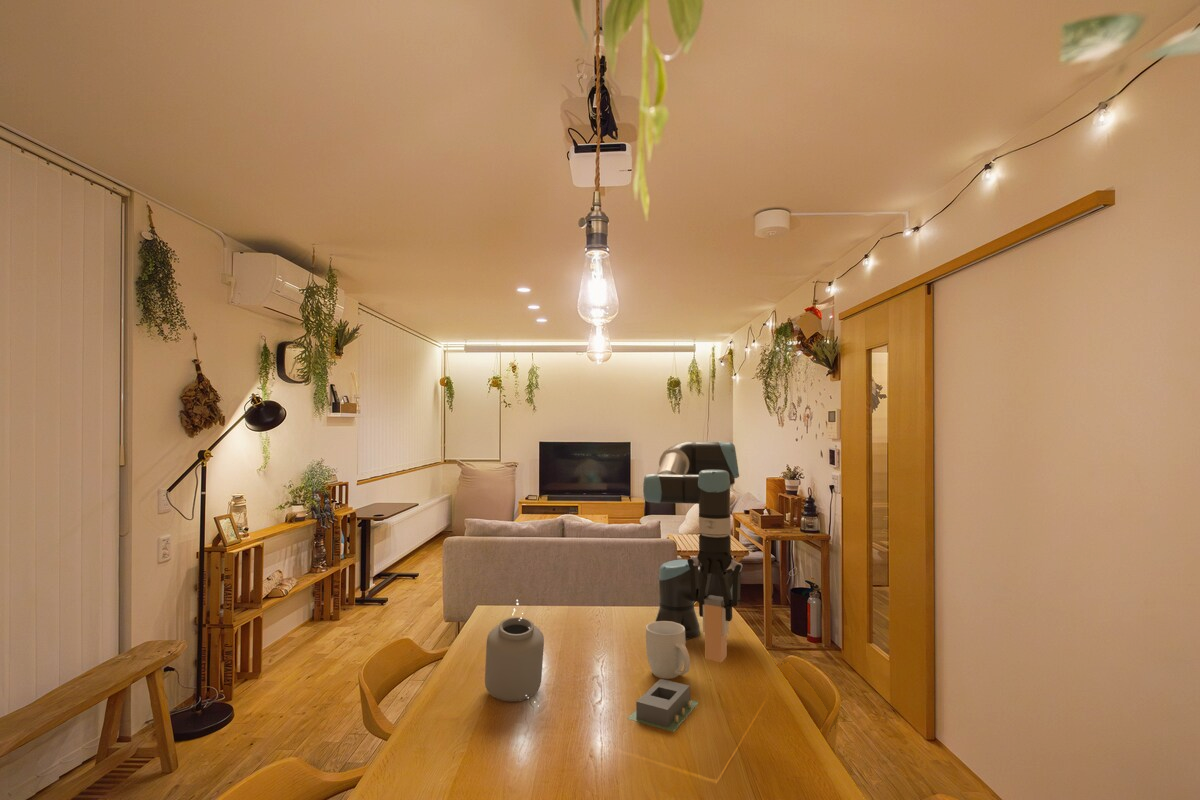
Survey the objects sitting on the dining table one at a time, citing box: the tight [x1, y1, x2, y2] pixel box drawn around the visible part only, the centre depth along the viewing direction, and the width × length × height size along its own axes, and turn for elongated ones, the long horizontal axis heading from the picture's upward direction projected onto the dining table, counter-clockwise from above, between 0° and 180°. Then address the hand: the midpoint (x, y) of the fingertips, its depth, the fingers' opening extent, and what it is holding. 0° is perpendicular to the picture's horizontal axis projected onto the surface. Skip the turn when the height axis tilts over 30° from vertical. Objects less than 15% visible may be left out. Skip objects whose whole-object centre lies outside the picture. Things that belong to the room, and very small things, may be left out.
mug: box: [645, 621, 691, 680], centre depth 159 cm, size 15×11×13 cm
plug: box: [704, 595, 728, 663], centre depth 138 cm, size 4×4×14 cm
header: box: [626, 678, 699, 733], centre depth 140 cm, size 16×12×4 cm
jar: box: [484, 599, 545, 707], centre depth 149 cm, size 19×15×25 cm
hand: (715, 632), depth 138 cm, fingers closed on plug, 4 cm apart
